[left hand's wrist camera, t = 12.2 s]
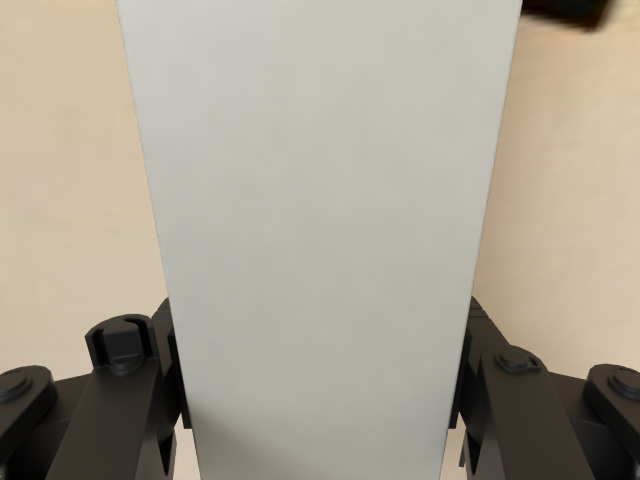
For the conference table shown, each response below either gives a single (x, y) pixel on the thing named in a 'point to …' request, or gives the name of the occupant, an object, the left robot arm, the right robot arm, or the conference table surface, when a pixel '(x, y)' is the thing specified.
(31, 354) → the conference table surface
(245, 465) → the bar
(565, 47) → the conference table surface
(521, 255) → the conference table surface
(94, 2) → the conference table surface
